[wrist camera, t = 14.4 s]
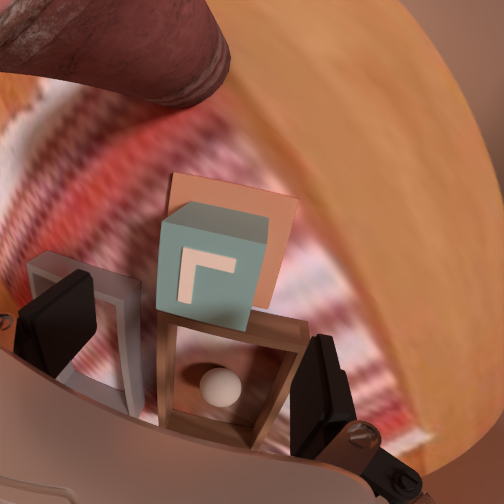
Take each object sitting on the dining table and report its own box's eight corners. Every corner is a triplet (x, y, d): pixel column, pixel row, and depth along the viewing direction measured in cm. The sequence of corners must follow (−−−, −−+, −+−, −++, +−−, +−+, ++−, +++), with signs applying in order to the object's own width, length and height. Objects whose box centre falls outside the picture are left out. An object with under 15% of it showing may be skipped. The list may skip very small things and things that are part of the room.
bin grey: (145, 403, 26) (136, 422, 23) (71, 371, 26) (59, 387, 23) (141, 280, 20) (123, 300, 17) (47, 250, 20) (26, 262, 17)
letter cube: (269, 217, 17) (266, 245, 12) (252, 287, 19) (244, 333, 14) (191, 201, 17) (160, 221, 12) (182, 270, 19) (154, 310, 14)
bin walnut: (257, 431, 26) (255, 453, 23) (166, 410, 26) (159, 430, 23) (307, 321, 20) (311, 347, 17) (171, 289, 20) (157, 311, 17)
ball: (239, 389, 23) (234, 418, 20) (202, 380, 23) (194, 408, 20) (247, 364, 22) (242, 395, 19) (206, 355, 22) (197, 384, 19)
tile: (268, 306, 20) (267, 309, 19) (162, 280, 20) (160, 282, 19) (298, 198, 17) (299, 199, 17) (175, 171, 17) (173, 172, 17)
